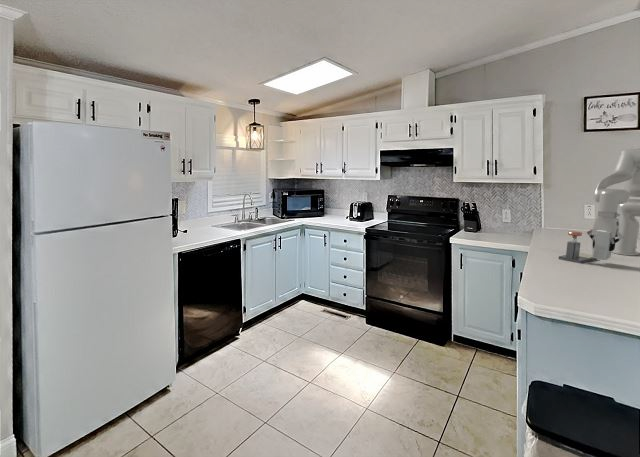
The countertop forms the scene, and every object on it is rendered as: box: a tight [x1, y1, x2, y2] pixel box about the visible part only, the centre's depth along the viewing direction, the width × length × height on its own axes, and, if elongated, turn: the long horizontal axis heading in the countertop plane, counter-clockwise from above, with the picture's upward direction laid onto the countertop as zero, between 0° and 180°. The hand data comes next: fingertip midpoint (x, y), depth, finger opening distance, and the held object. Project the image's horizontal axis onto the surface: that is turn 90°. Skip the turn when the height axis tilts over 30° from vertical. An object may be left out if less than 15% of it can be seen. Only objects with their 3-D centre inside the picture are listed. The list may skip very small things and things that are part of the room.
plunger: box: [567, 230, 583, 243], centre depth 192 cm, size 6×6×10 cm
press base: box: [558, 240, 598, 264], centre depth 195 cm, size 17×11×10 cm, turn 119°
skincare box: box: [593, 230, 612, 261], centre depth 185 cm, size 8×6×15 cm
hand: (603, 249), depth 186 cm, fingers closed on skincare box, 6 cm apart
